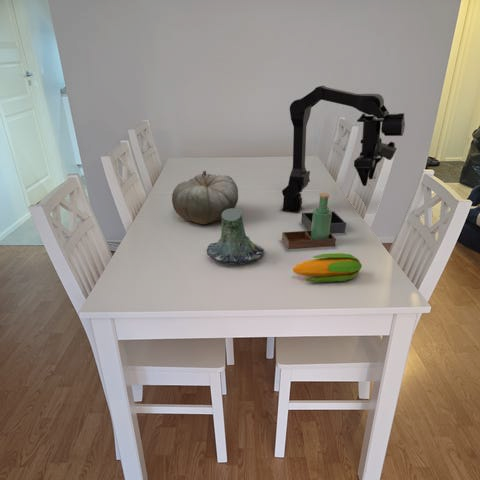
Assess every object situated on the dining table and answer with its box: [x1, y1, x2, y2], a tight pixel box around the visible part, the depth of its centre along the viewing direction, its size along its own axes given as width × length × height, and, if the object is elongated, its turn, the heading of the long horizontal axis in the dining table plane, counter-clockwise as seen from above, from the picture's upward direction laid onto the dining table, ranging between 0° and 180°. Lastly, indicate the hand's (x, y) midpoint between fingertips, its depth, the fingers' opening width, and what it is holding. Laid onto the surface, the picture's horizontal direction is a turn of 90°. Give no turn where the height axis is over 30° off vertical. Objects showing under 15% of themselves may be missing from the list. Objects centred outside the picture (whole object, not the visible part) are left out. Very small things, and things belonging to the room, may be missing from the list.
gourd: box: [171, 170, 239, 225], centre depth 166 cm, size 25×25×17 cm
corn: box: [292, 252, 363, 283], centre depth 128 cm, size 7×8×20 cm
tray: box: [300, 210, 347, 235], centre depth 161 cm, size 12×12×4 cm
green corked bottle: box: [311, 192, 332, 240], centre depth 146 cm, size 6×6×16 cm
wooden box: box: [281, 230, 337, 250], centre depth 150 cm, size 8×16×3 cm, turn 100°
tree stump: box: [206, 207, 265, 266], centre depth 139 cm, size 18×20×18 cm
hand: (367, 182), depth 161 cm, fingers open, 9 cm apart
